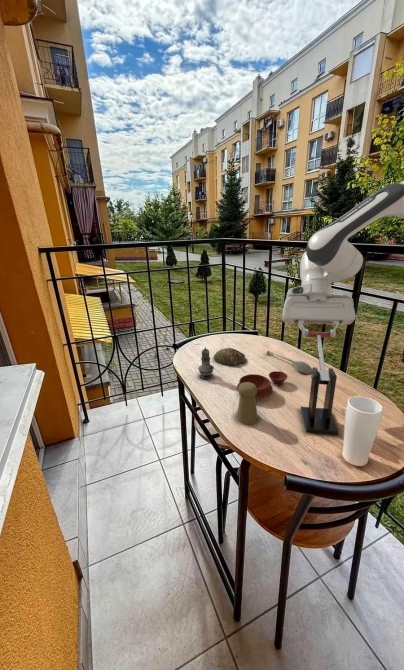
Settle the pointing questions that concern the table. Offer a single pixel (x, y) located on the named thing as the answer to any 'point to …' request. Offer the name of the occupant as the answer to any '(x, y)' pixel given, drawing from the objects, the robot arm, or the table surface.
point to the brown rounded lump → (229, 356)
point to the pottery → (264, 382)
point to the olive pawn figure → (247, 403)
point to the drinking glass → (360, 429)
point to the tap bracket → (320, 417)
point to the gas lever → (321, 356)
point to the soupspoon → (297, 364)
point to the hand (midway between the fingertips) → (318, 336)
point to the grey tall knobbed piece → (205, 366)
